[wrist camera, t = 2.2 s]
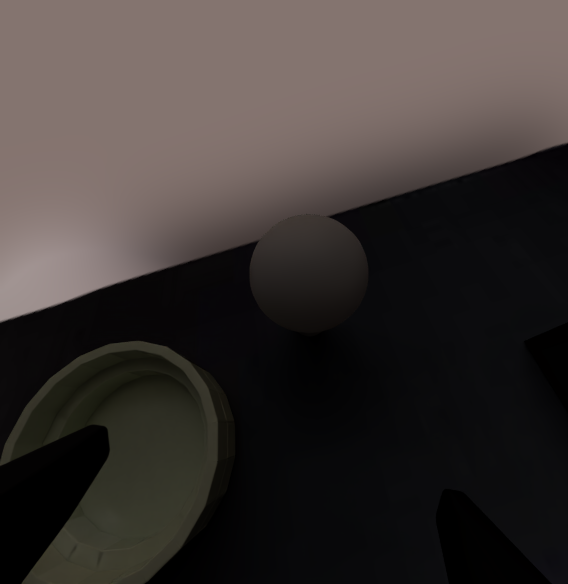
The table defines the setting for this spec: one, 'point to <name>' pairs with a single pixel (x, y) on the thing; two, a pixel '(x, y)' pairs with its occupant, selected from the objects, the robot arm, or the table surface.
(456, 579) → the robot arm
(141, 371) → the bowl
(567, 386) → the digital camera
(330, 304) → the lightbulb
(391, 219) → the table surface
